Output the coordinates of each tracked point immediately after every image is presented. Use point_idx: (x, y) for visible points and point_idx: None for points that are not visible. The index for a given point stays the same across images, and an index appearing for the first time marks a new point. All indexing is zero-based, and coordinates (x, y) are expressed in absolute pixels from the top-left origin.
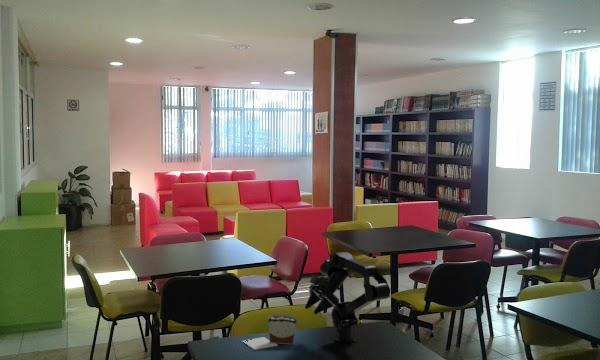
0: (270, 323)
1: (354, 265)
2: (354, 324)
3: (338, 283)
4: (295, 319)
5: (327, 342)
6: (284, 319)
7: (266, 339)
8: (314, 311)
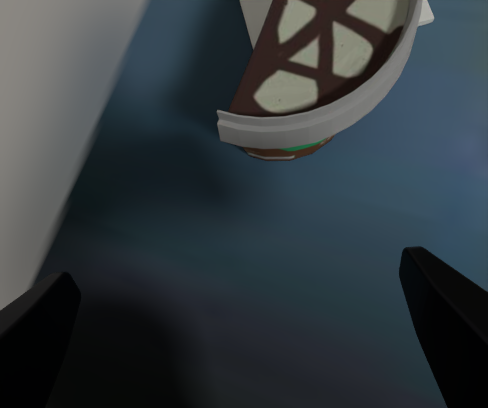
0: None
1: None
2: None
3: None
4: (280, 121)
5: (226, 376)
6: (275, 10)
7: None
8: (40, 282)
